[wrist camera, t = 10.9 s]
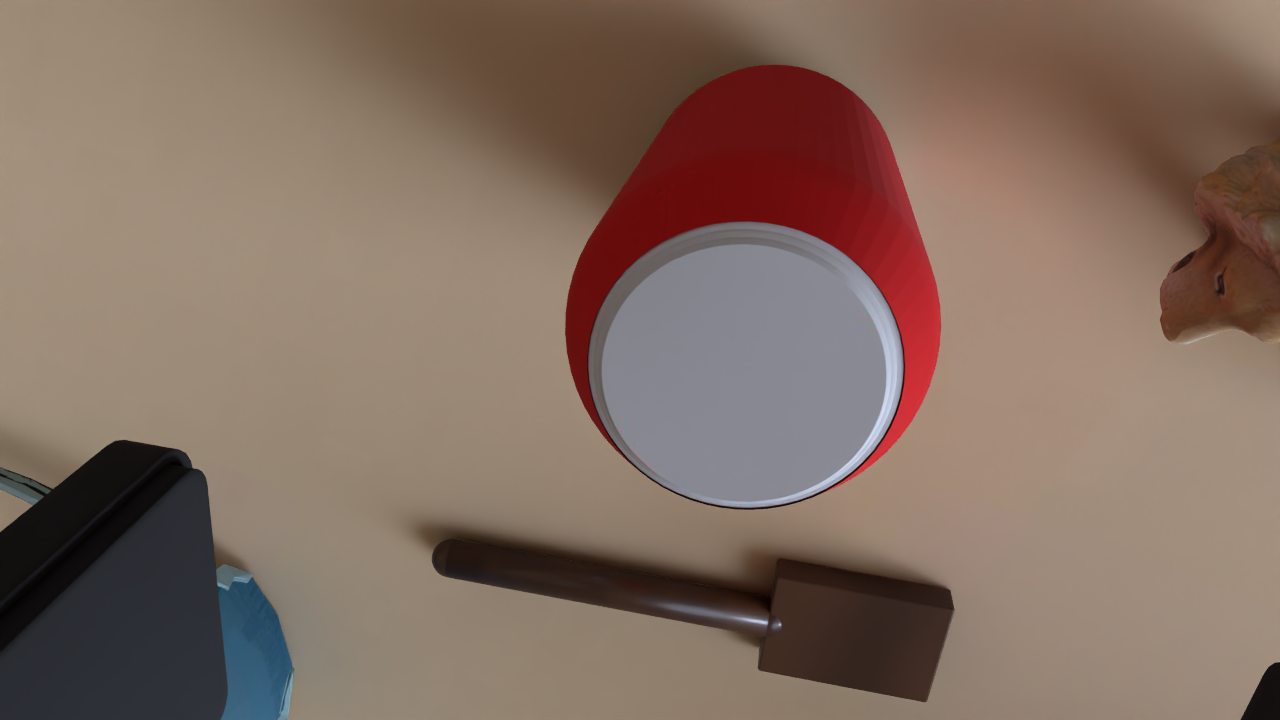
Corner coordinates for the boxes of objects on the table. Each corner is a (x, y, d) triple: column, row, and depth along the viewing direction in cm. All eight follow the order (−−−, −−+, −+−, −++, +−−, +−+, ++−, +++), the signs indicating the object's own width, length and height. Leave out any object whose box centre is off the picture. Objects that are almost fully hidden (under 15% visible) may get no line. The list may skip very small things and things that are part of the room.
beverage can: (603, 187, 27) (462, 380, 16) (769, 2, 24) (736, 82, 13) (770, 338, 28) (745, 616, 17) (945, 176, 25) (1048, 381, 14)
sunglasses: (255, 847, 40) (166, 959, 35) (-57, 661, 41) (-180, 747, 36) (349, 591, 33) (256, 688, 29) (-21, 381, 35) (-165, 443, 30)
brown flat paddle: (437, 588, 33) (425, 611, 32) (440, 496, 32) (427, 517, 30) (923, 680, 32) (928, 708, 31) (950, 588, 30) (956, 614, 29)
